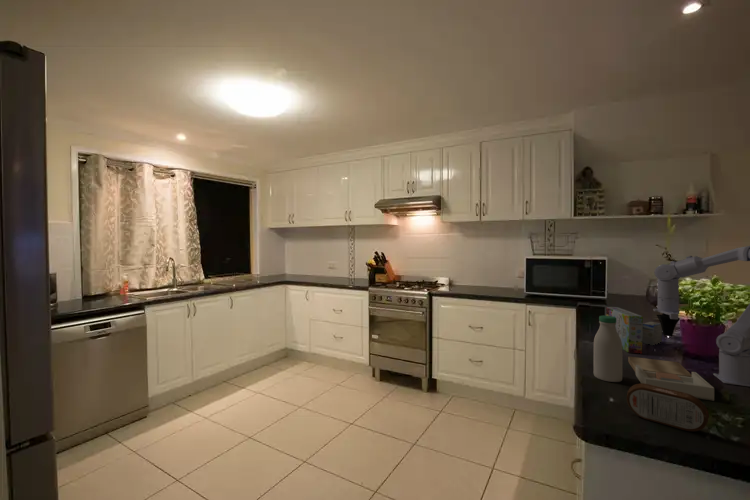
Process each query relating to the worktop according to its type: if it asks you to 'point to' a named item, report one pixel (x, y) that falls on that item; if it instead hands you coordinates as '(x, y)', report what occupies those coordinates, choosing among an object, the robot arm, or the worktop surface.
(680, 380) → the slate tile
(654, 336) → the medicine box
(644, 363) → the board
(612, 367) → the milk bottle
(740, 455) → the worktop surface
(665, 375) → the terracotta tile
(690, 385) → the tray
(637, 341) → the snack box
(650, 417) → the tin
